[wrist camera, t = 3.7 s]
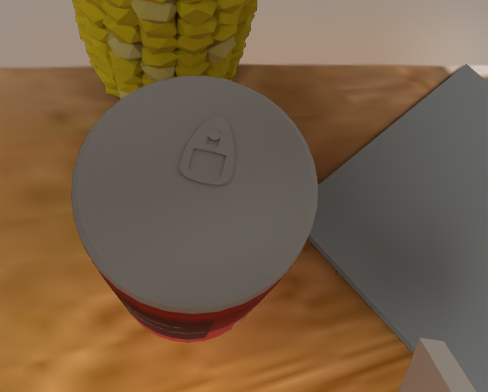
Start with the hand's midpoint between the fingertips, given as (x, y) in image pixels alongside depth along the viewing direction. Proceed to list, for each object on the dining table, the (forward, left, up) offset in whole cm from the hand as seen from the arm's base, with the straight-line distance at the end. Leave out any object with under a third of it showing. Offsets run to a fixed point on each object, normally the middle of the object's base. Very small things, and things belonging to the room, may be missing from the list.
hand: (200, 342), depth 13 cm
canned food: (-4, +3, -9) cm, 11 cm away
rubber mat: (+7, +18, -9) cm, 21 cm away
